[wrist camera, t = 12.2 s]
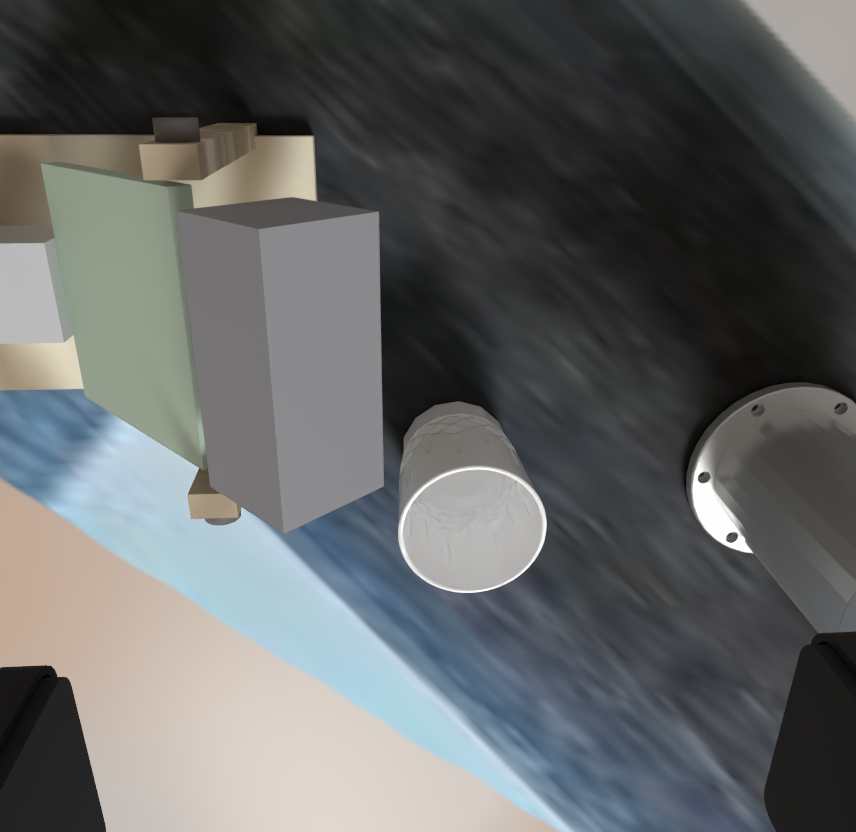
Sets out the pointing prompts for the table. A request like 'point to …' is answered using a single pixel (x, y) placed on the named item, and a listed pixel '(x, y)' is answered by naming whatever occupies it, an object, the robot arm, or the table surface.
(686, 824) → the table surface
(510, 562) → the white cup
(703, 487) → the robot arm
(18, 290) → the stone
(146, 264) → the trapdoor
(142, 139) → the frame
